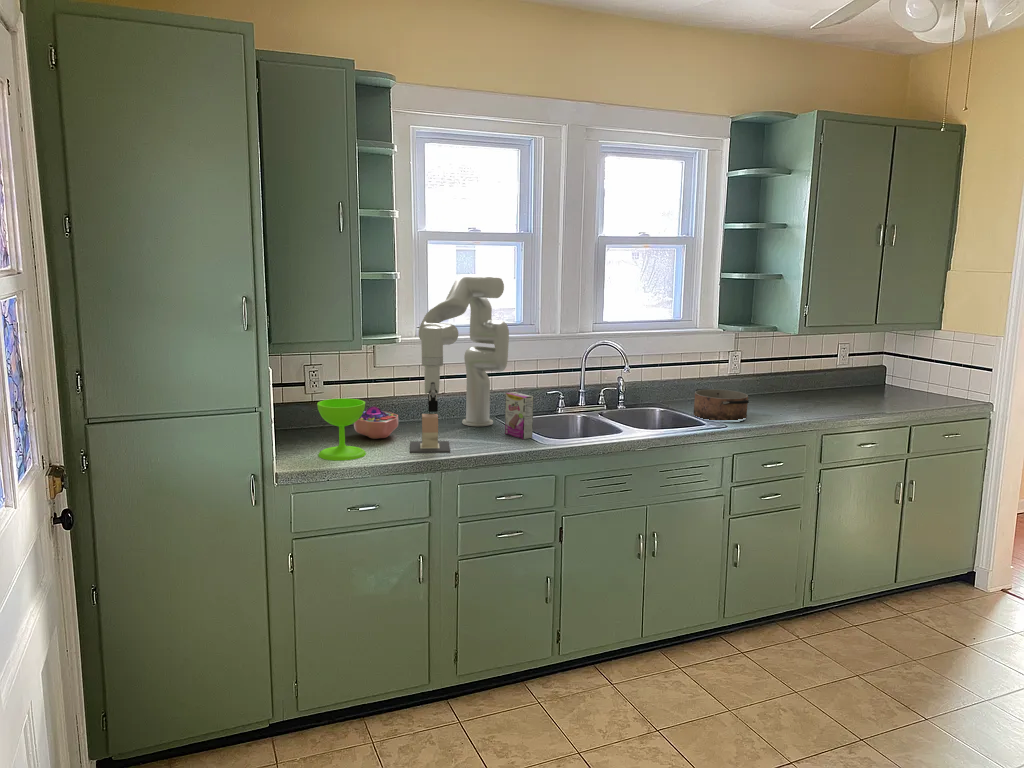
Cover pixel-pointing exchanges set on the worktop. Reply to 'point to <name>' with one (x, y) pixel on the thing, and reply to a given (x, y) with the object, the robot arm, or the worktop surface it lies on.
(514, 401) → the candy bar box
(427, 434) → the birch block
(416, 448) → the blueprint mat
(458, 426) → the worktop surface
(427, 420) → the terracotta block
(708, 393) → the cooking pot
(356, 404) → the wineglass
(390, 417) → the cell model
